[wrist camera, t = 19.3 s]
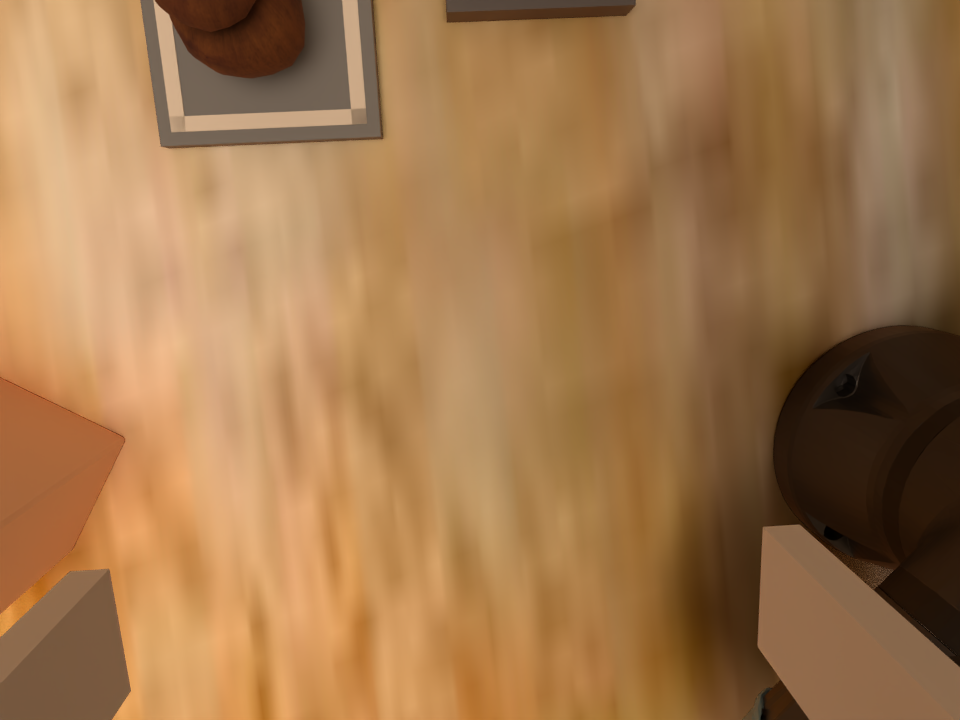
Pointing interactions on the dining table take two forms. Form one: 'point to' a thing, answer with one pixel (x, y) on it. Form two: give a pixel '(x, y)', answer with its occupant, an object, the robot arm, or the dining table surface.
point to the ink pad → (533, 9)
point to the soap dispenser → (45, 484)
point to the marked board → (271, 85)
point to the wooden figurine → (240, 33)
